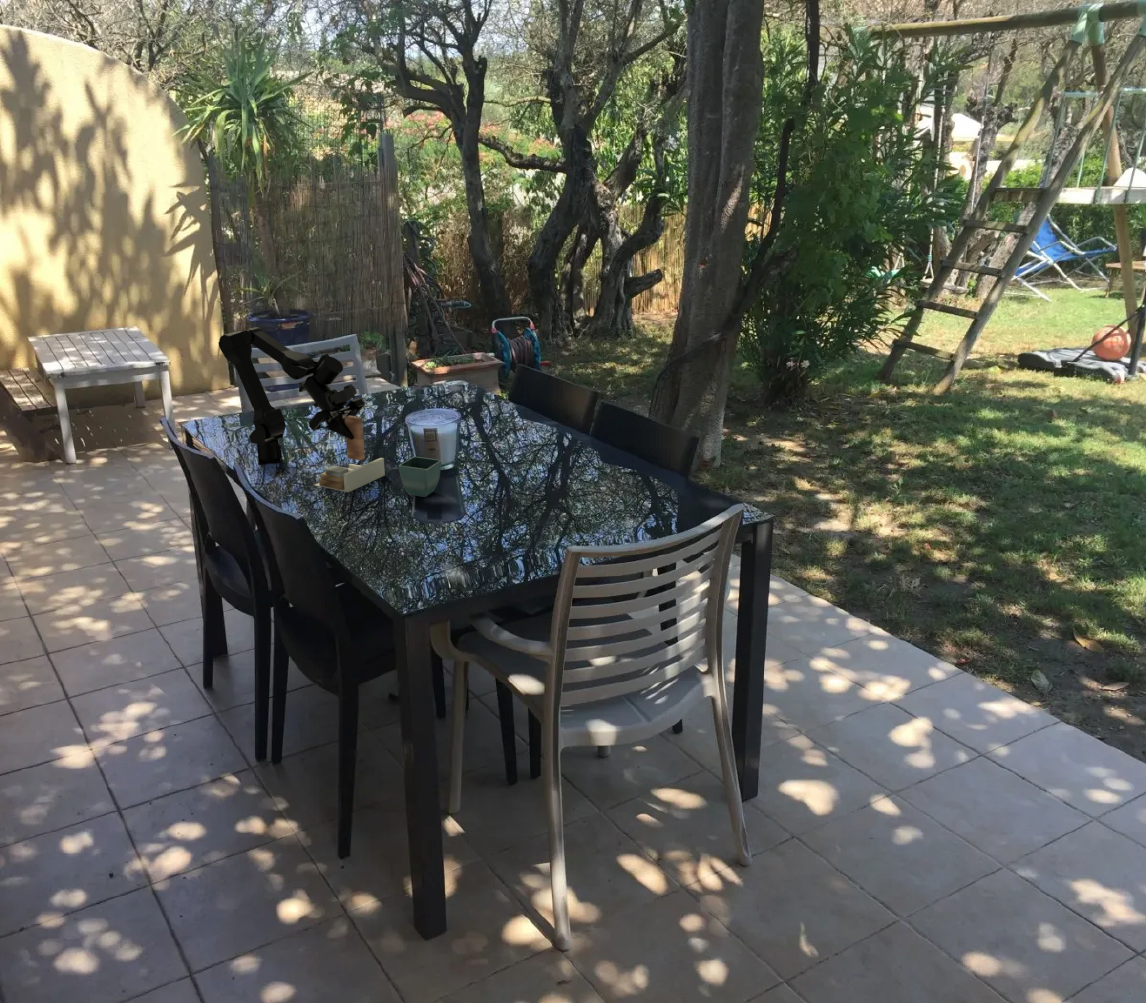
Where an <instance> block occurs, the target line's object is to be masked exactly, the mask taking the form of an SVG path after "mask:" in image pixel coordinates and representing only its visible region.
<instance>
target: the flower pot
mask: <svg viewBox="0 0 1146 1003" xmlns="http://www.w3.org/2000/svg"><path fill="white" fill-rule="evenodd" d="M441 467H442V460H441V459H436V458H428V457H422V456H421V457H419V456H412V457H410V458H408V459H407V460H405V461H404V462H402V463H400V464H399V465H398V470H399V476H400V481H401V484H402V486H403V488H404V490H405V491H406V492H407V494H408V495H410V496H413V497H420V498H421V497H423V498H426V497H428V496H429V495H430V494H432V493H433V492H434V490H435V489H436V488H437V485H438V483H439V481H440V477H441Z"/></svg>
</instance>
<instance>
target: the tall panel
mask: <svg viewBox="0 0 1146 1003" xmlns="http://www.w3.org/2000/svg"><path fill="white" fill-rule="evenodd" d="M345 424H346V426H347V427H348V428H349V430H350V431H351V433H352V434H353V436H354V439H353V440H351V439H349V438H347V437H345V439H346V440H345V441H346V442H345V443H346V454H347V459H352V460H356V461H362V460H364V459H365V443H364V429H363V417H361V416H357V415H355V416H351V415H349V416H346V417H345Z"/></svg>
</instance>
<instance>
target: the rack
mask: <svg viewBox="0 0 1146 1003" xmlns="http://www.w3.org/2000/svg"><path fill="white" fill-rule="evenodd" d="M342 467H343V466H342ZM343 468H346V469H348V472H347V473H345V474H343V475H344V487H345V489H344V490H339V489H335V488H330V487H325V486H320V485H319V482H318V483H315V484H314V486H315V487H321V488H325V489H330V490H336V491H340V492H344V493H350V492H353V491H354V490H356V489H358V488H361V487H363V486H365V485H367V484H369V483H371V482H374V481H375V480H378V479H380V478H382V477H385V476H386V474H385V471H386V470H385V458H384V457H380V458H377V459H375V460H373V461H370V462H368V463H365V464H363V465H358V464H353V463H349V464H348V467H343Z"/></svg>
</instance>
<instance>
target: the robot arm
mask: <svg viewBox="0 0 1146 1003" xmlns="http://www.w3.org/2000/svg"><path fill="white" fill-rule="evenodd" d="M252 346H254V347H255V348H256V349H258V350H260V351H261V352H262V353H263V354H265V355H266V356H269V357H270V358H271V359H273V360H274V361H275V362H277V363H278V364H279V365H281V368H282V371H284V373H285V374H286V375H287V376H288V377H290V378H291V379H293V380H300V379H304V378H306V379H305V380H304V381H300V382H298V384H299V387H298V392H299V393H303V392H306V393H307V394H308V395H309V396H310V398H311V399H312V401H313V402H314V404H313V407H314V408H315V409H316V408H319V411H318V412H315V414H314V415H313V416H312V418H310V420H309V421H308V427H309V428H310V429H311V430H312V432H316V431H318V430H320V429H321V426H322V425H321V424H323V423H326V426H325V429H326V430H329V431H332V432H335V433H337V434H339V435H341V436H343V437H345V438H346V437H347V438H349V439H351V440H353V439H354V436H353V434H352V433H351V431H350V430H349V428H348V427H347V426H346V424H345V417H346V416H349V415H351V416H357V415H358V414H359V413H360V411H362V410H363V408H364V407H365V406H366V402H365V401H364V400H363V399H362V398H359V397H357V398H356V395H357V392H358V391H357V389H356V387H355V386H354V385H353V384H352V383H351V384H347V385H346V386H344V387H343V389H342V390H339V391H338V390H337V389H331V388H330V386H329V385H332V384H333V383H334V381H335V380H336V379H337V378H338V377H339V376H340V375H341V373H342V372H343V370H344V365H343V363H342V362H341V360H338V359H337V358H335V357H333V356H330V355H329V353H324V354H322V355H321V356H320V357H319V360H318V361H317V360H314V359H313V358H312V357H311V356H309V355H307V354H305V353H302V352H300V351H298V352H297V351H293V350H291V349H289V348H288V347H287V346H285V345H284V344H282V343H281V342H279V341H278V340H276V339H275V338H273V337H272V336H270V335H269V334H267V333H266V332H264V330H263V329H262V328H261V327H257V326H255V327H250V328H247V329H245V330H243V331H240V330H239V331H236V332H235V331H234V332H231V333H226V334H222V335H221V336H220V337H219V341H218V347H219V349H220V351H221V353H222V354H223V356H224V358H225V359H226V360H227V361H228V362H229V363H231V364H232V365H233V366H234V368H235V370H236V372H237V374H238V377H239V379H240V381H241V384H242V386H243V388H244V390H245V393H246V395H247V397H248V400H249V402H250V404H251V407H252V409H253V412H254V413H253V418H252V419H253V420H252V421H253V426H254V429H253V431H252V432H251V433H250V434H249V436H248V438H249V441H250V443H251V444H255V445H256V450H257V452H256V453H257V462H258V465H263V464H273V463H274V464H275V463H281V462H282V460H281V459H282V458H283V452H282V445H281V443H280V442H279V440H280V439H283V438H284V435H285V434H284V433H285V431H286V428H287V424H286V421H287V420H286V418H285V417H284V416H283V411H282V409H281V408H275V407H273V406H272V404H271V403H270V401H269V397H268V396H267V394H266V390H265V389H264V386H263V384H262V382H261V380H260V377H259V375H258V372H257V370H256V368H255V365H254V364H253V361H252V354H253V353H252V352H253V348H252ZM349 400H350V401H349ZM348 401H349V402H348Z"/></svg>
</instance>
